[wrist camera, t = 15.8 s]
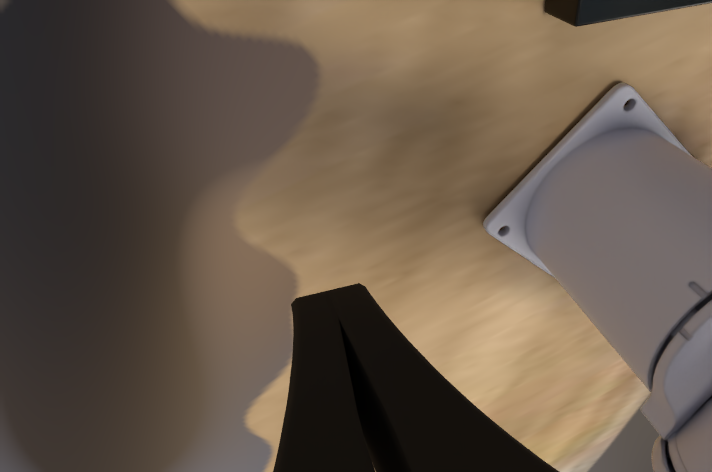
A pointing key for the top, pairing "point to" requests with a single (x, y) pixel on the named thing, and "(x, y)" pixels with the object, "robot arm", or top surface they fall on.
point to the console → (611, 9)
